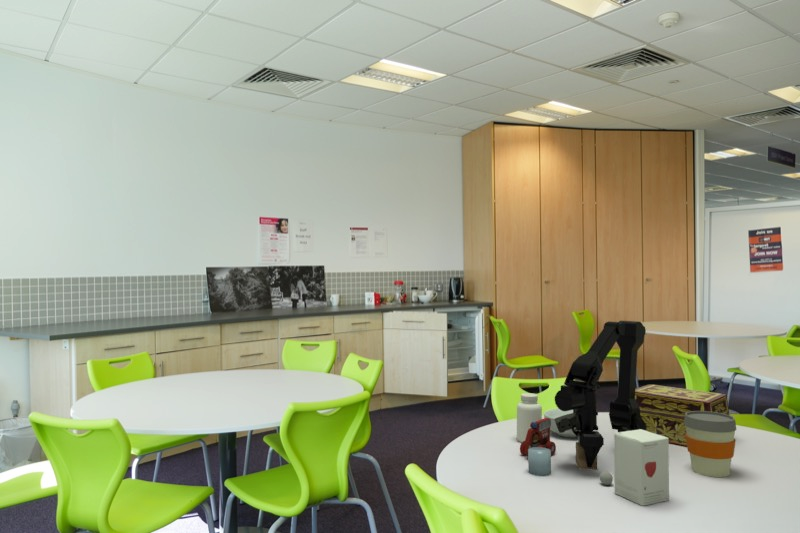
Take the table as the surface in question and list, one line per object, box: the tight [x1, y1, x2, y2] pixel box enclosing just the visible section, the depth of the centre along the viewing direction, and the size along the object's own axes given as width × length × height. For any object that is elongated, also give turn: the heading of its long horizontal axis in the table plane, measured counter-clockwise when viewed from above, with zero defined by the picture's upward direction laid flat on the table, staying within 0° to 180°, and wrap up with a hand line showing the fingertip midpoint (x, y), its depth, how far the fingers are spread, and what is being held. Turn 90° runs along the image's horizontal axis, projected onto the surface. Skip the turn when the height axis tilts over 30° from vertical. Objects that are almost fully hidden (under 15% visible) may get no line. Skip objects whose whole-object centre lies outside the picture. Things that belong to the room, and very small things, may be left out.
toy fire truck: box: [519, 417, 557, 457], centre depth 169 cm, size 7×12×10 cm, turn 133°
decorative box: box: [635, 384, 730, 448], centre depth 186 cm, size 28×19×15 cm
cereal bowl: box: [543, 407, 578, 438], centre depth 190 cm, size 17×17×7 cm
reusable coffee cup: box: [684, 411, 737, 478], centre depth 153 cm, size 12×13×15 cm
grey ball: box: [599, 470, 614, 486], centre depth 144 cm, size 3×3×3 cm
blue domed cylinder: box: [527, 447, 552, 477], centre depth 154 cm, size 6×6×6 cm
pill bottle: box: [516, 392, 543, 443], centre depth 183 cm, size 8×8×15 cm
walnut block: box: [575, 441, 598, 471], centre depth 158 cm, size 5×5×6 cm
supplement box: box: [613, 429, 670, 507], centre depth 136 cm, size 9×9×15 cm
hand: (586, 461), depth 158 cm, fingers open, 9 cm apart
